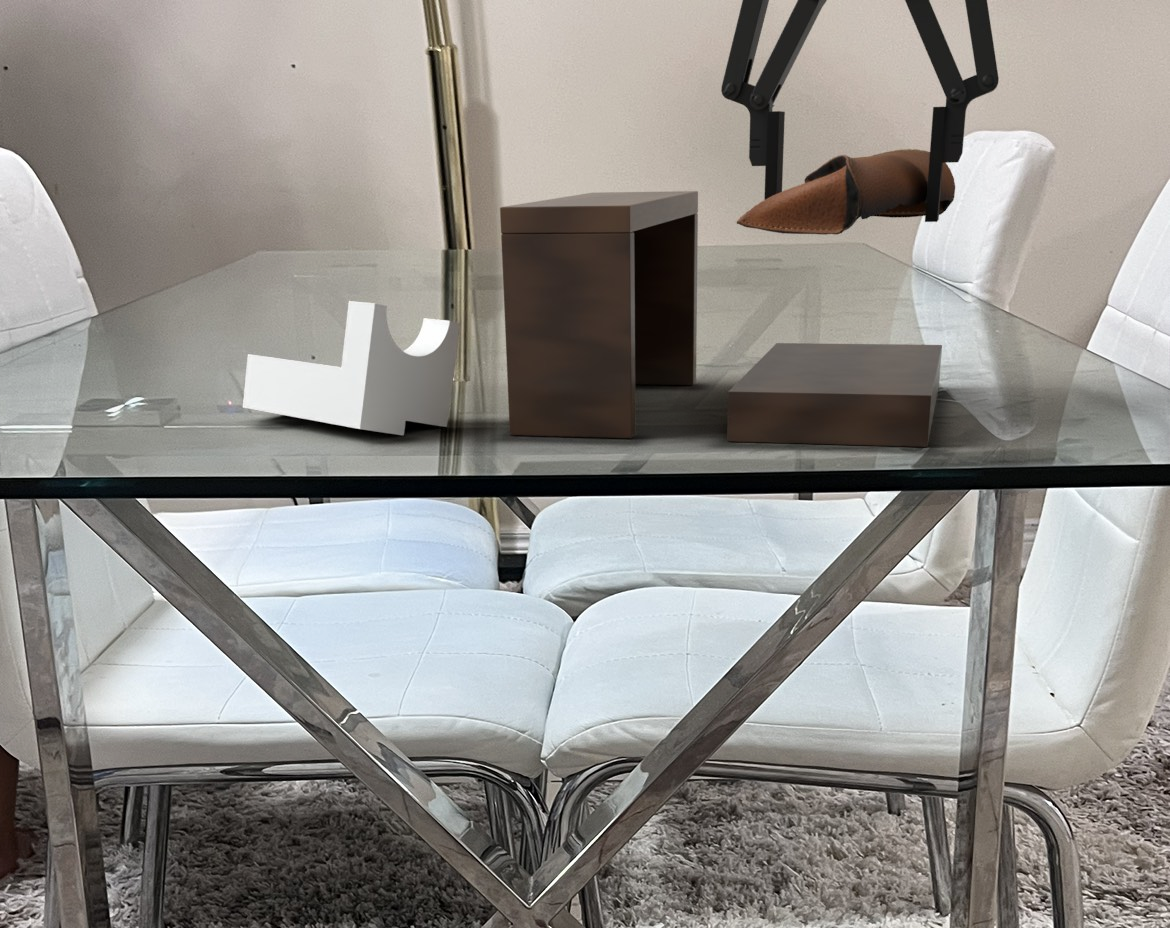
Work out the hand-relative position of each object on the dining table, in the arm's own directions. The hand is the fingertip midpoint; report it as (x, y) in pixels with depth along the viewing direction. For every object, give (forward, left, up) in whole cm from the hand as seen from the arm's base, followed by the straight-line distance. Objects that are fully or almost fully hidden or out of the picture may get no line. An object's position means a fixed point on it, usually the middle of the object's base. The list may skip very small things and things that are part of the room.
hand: (851, 221), depth 90 cm
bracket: (+32, +9, -12) cm, 35 cm away
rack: (+7, +1, -12) cm, 14 cm away
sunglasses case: (0, 0, 0) cm, 0 cm away
